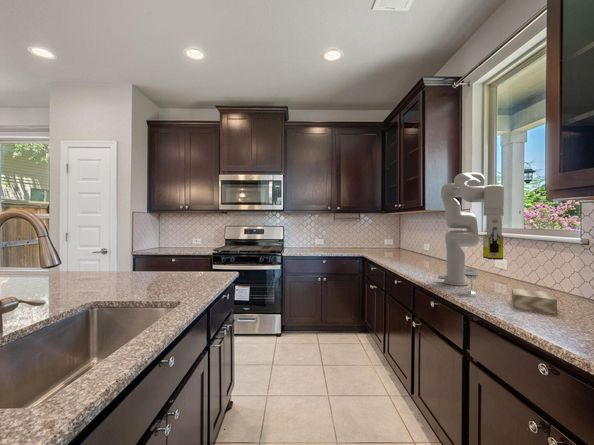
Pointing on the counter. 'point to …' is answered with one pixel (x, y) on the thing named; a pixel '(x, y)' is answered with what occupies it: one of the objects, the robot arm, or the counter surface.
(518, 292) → the riser block
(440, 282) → the counter surface
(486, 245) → the supplement box
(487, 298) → the counter surface
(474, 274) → the wineglass
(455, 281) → the robot arm
